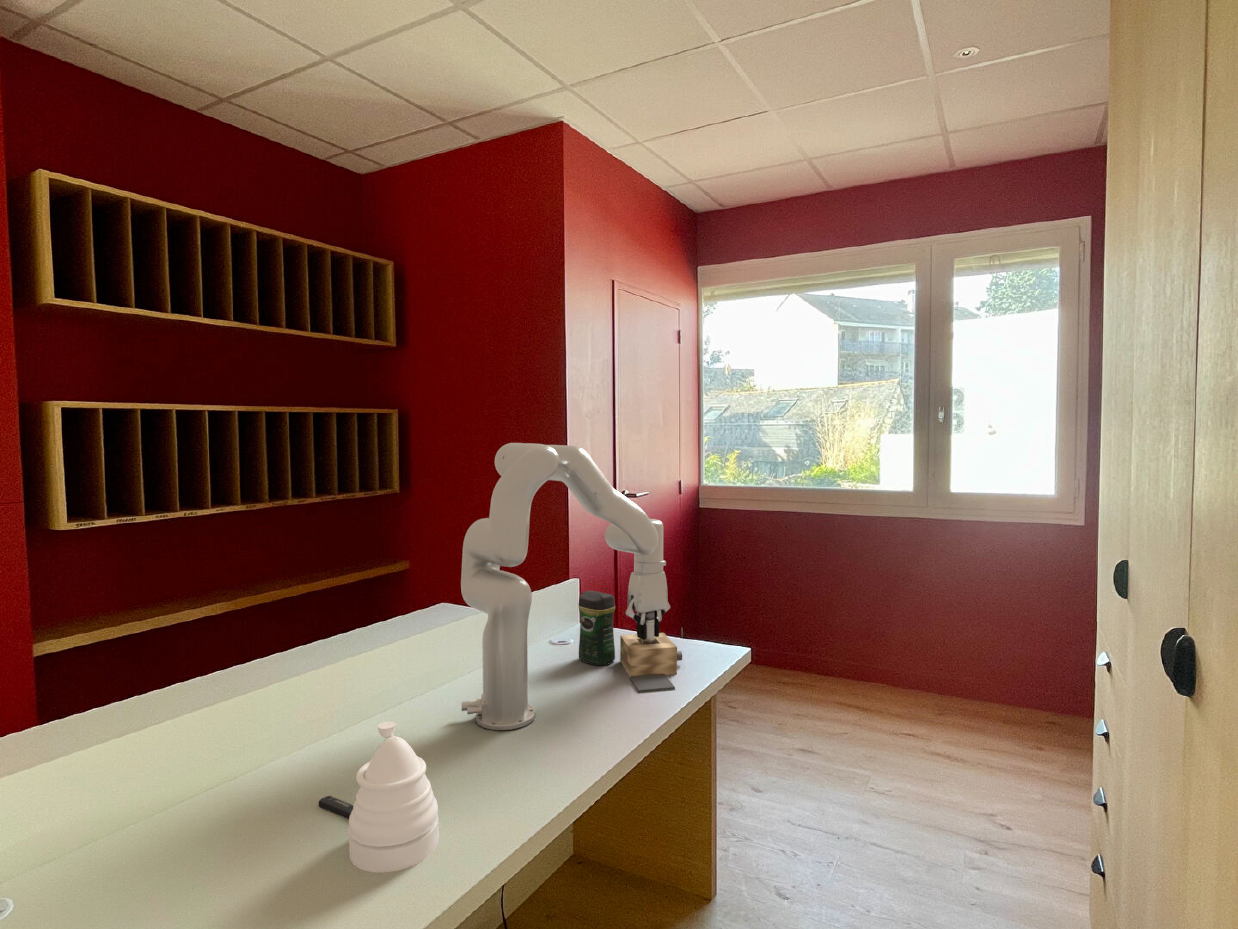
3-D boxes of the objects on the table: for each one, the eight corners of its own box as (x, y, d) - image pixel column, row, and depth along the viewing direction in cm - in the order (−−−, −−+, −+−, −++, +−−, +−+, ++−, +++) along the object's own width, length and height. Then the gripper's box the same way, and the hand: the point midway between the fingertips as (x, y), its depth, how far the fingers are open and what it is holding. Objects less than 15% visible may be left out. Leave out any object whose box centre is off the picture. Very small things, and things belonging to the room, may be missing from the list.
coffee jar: (620, 660, 184) (620, 592, 182) (599, 668, 178) (600, 598, 176) (593, 652, 190) (593, 586, 189) (573, 660, 184) (573, 591, 183)
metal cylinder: (638, 655, 179) (639, 610, 178) (649, 653, 181) (649, 608, 180) (647, 659, 176) (647, 613, 175) (657, 656, 178) (657, 611, 177)
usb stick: (369, 817, 112) (368, 808, 111) (355, 825, 109) (355, 816, 109) (330, 801, 116) (329, 792, 116) (316, 809, 114) (316, 799, 114)
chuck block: (630, 677, 171) (631, 650, 171) (620, 661, 183) (620, 635, 183) (688, 673, 175) (688, 646, 174) (674, 657, 186) (674, 632, 186)
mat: (638, 692, 162) (638, 690, 162) (629, 678, 171) (629, 676, 171) (674, 689, 164) (674, 687, 164) (664, 675, 173) (664, 673, 173)
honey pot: (335, 844, 104) (332, 728, 103) (413, 810, 113) (411, 704, 112) (372, 885, 95) (370, 759, 94) (454, 845, 104) (453, 729, 103)
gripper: (665, 561, 185) (665, 628, 186) (613, 568, 176) (613, 638, 177) (682, 566, 178) (682, 635, 179) (630, 573, 169) (629, 646, 170)
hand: (648, 636), depth 178 cm, fingers closed on metal cylinder, 3 cm apart
